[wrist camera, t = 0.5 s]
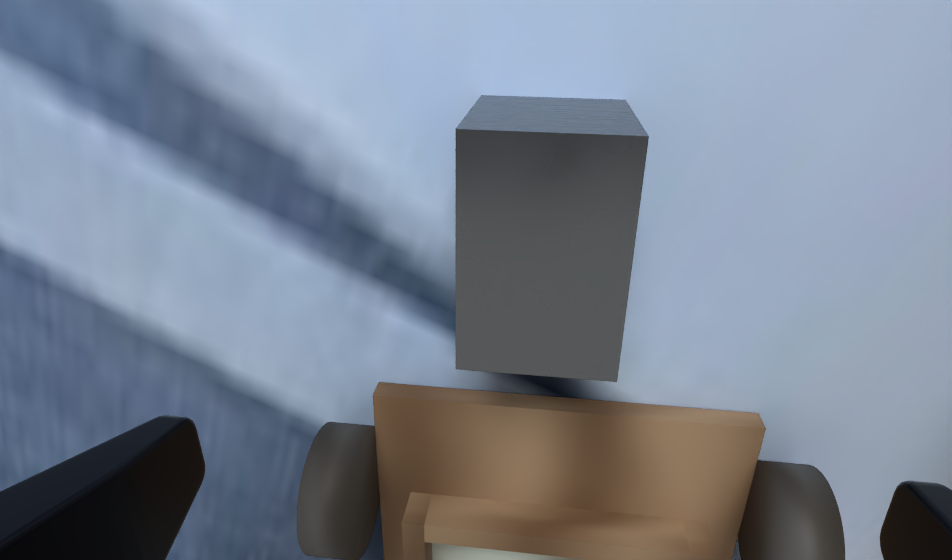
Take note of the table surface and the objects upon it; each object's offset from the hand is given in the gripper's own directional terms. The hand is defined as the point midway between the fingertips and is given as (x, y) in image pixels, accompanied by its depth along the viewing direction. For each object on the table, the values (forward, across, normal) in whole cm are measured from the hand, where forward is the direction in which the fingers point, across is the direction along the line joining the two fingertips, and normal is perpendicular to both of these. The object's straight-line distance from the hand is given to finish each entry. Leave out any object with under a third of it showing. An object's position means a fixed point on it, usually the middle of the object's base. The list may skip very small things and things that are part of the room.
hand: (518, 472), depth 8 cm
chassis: (+12, 0, +17) cm, 21 cm away
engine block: (+12, 0, 0) cm, 12 cm away
